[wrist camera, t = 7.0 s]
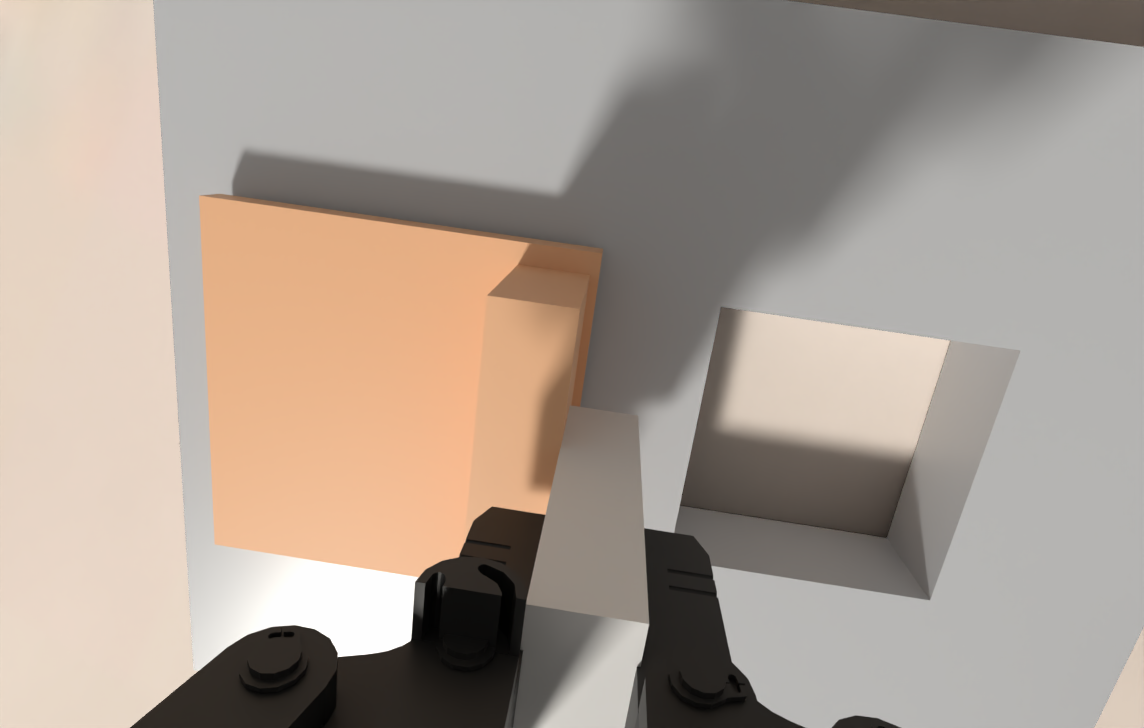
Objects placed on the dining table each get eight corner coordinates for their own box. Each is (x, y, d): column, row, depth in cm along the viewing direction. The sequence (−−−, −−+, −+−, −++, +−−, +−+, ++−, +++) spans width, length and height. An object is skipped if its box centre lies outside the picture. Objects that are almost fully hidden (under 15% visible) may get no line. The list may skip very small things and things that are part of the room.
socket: (229, -42, 17) (148, -83, 14) (1269, 95, 16) (1410, 82, 13) (247, 606, 23) (193, 670, 20) (996, 728, 22) (1051, 813, 19)
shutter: (220, 193, 15) (76, 206, 11) (603, 248, 15) (595, 281, 11) (232, 528, 18) (119, 634, 14) (554, 579, 18) (534, 703, 14)
